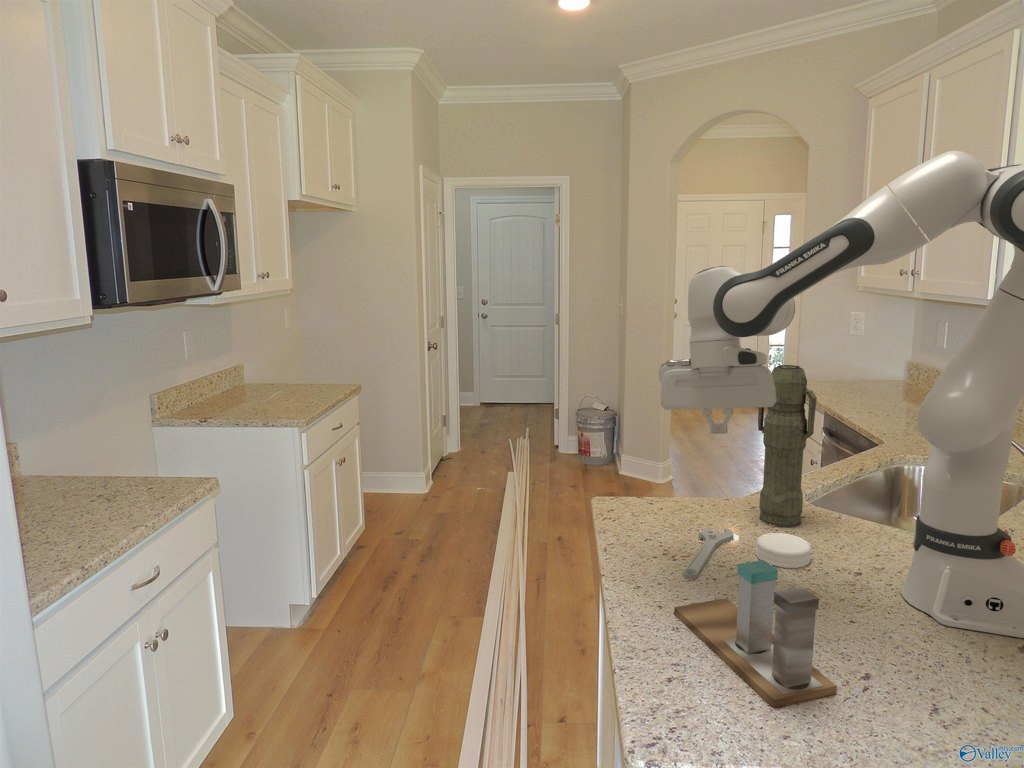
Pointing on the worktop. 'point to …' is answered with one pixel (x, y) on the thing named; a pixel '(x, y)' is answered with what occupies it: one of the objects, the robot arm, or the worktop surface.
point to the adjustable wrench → (706, 551)
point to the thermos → (785, 446)
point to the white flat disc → (783, 550)
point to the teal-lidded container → (755, 605)
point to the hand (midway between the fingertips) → (718, 433)
